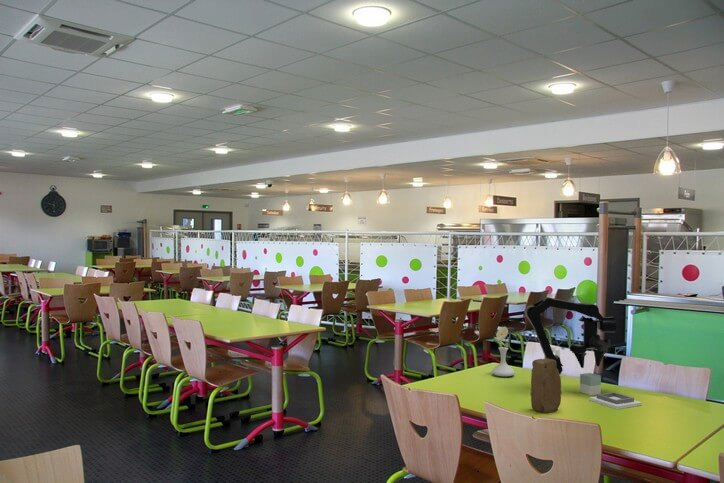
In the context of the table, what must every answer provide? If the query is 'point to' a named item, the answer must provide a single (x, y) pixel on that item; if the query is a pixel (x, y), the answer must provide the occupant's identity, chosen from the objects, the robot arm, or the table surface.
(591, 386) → the grey green box
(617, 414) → the table surface
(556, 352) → the figurine
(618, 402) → the socket plate
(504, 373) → the flower in vase
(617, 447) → the table surface
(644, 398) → the table surface
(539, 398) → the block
